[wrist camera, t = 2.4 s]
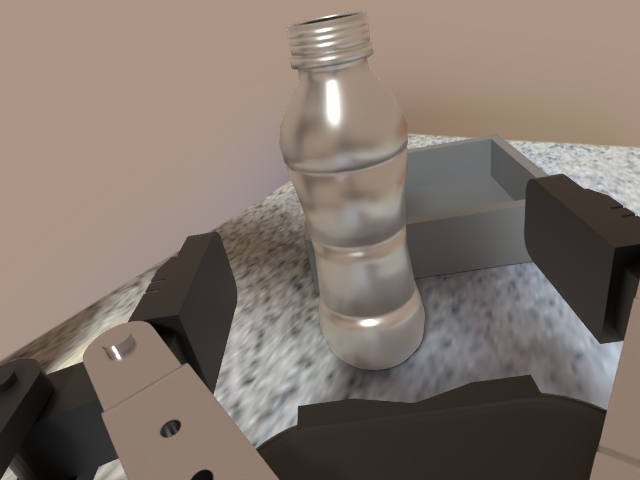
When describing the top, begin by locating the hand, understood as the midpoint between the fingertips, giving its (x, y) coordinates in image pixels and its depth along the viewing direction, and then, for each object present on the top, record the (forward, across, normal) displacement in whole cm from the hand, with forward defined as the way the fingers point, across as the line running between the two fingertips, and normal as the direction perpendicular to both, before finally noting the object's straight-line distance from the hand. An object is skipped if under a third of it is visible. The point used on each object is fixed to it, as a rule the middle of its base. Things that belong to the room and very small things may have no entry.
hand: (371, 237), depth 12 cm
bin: (+27, -6, +15) cm, 32 cm away
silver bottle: (+12, 0, +16) cm, 20 cm away
